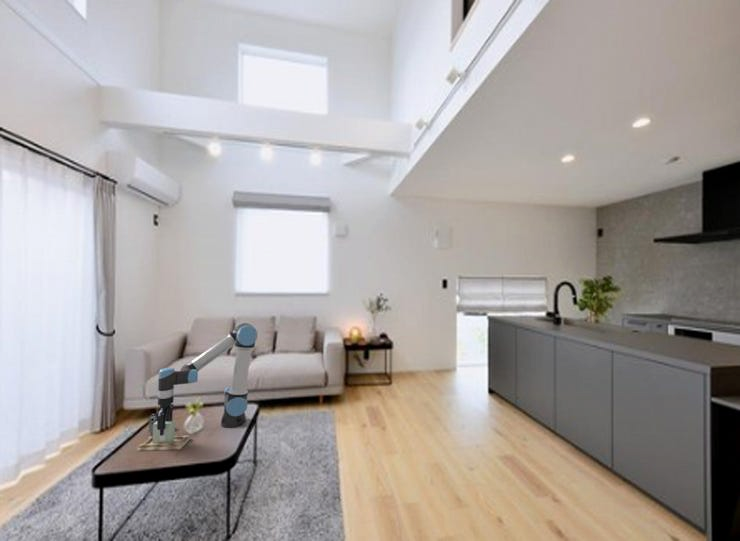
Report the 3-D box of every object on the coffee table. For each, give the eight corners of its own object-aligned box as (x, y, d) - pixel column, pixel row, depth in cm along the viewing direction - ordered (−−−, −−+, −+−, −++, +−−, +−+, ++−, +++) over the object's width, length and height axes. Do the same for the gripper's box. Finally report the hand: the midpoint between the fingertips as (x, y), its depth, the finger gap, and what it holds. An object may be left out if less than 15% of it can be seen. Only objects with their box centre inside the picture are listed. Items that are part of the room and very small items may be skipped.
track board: (190, 438, 191) (190, 434, 191) (180, 449, 179) (180, 444, 179) (150, 440, 189) (150, 435, 189) (137, 450, 177) (137, 446, 177)
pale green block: (174, 440, 186) (175, 420, 186) (171, 443, 182) (171, 423, 183) (156, 441, 185) (156, 421, 185) (152, 444, 181) (153, 424, 182)
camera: (173, 433, 198) (173, 416, 198) (151, 439, 190) (152, 421, 190) (167, 425, 208) (167, 409, 208) (146, 431, 200) (147, 414, 201)
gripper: (166, 391, 192) (165, 432, 192) (150, 402, 176) (148, 446, 175) (180, 391, 193) (178, 431, 192) (164, 401, 177) (163, 446, 176)
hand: (164, 438), depth 184 cm, fingers closed on pale green block, 3 cm apart
